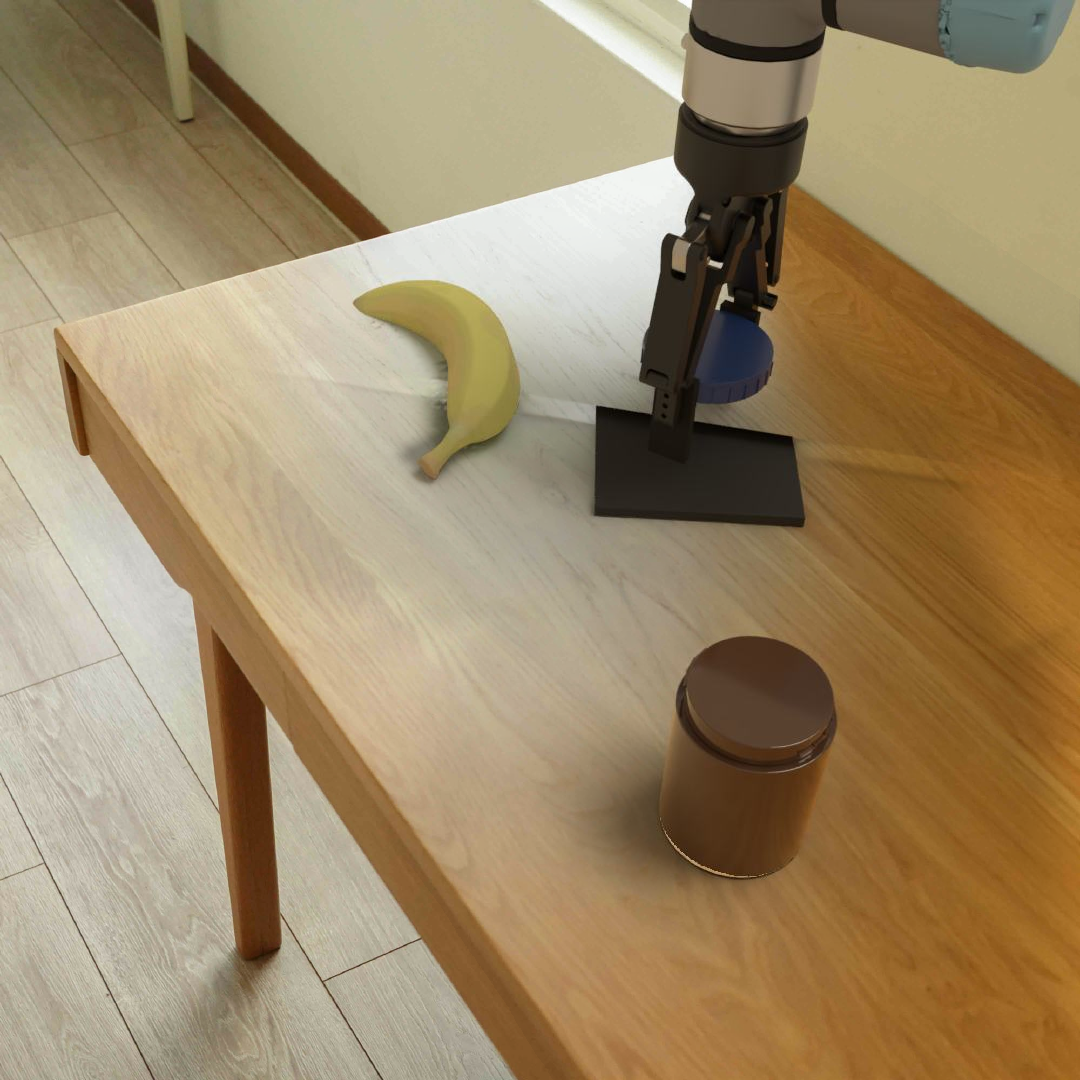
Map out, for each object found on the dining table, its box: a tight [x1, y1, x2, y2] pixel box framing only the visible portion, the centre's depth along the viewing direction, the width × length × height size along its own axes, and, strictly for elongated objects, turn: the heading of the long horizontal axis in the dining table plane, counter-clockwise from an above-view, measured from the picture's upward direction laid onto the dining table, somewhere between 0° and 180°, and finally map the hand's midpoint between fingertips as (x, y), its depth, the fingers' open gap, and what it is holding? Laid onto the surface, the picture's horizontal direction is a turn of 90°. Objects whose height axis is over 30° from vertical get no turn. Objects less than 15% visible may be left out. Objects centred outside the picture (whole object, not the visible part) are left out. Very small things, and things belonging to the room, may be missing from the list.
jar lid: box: [639, 309, 775, 405], centre depth 89 cm, size 9×9×2 cm
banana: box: [352, 279, 521, 480], centre depth 98 cm, size 14×6×20 cm
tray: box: [593, 404, 806, 527], centre depth 95 cm, size 14×14×1 cm
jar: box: [658, 635, 838, 877], centre depth 69 cm, size 8×8×10 cm
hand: (699, 418), depth 93 cm, fingers closed on jar lid, 8 cm apart
